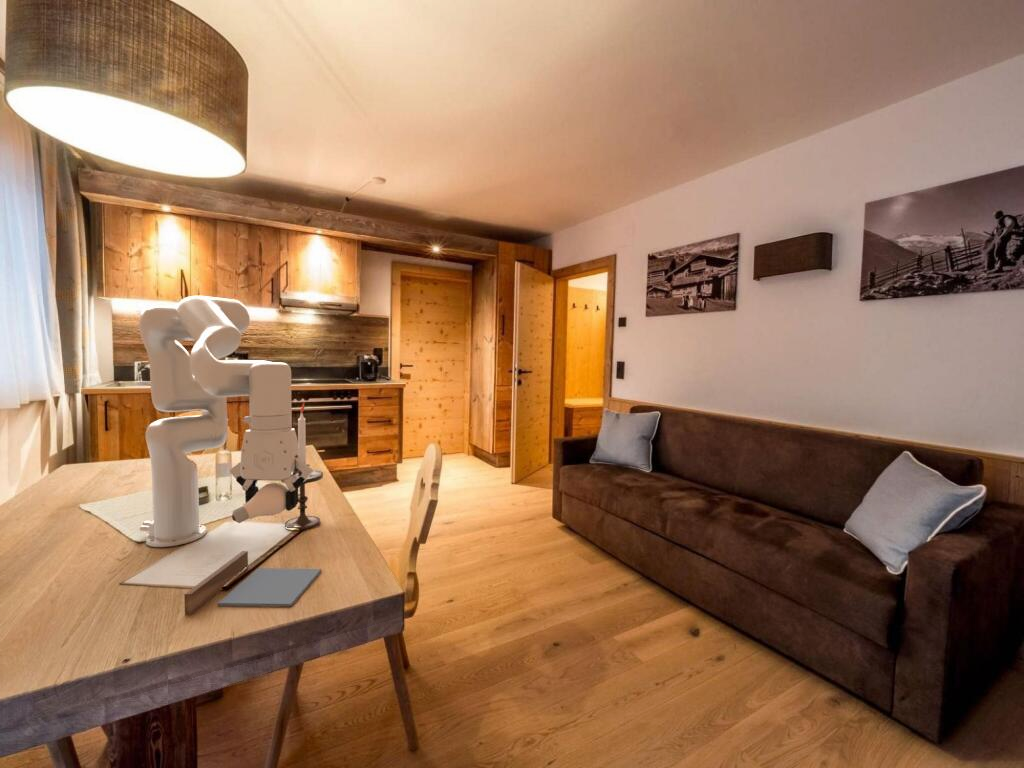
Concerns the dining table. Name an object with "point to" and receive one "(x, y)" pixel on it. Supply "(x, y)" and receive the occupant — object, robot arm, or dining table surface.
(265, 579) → the mat
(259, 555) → the dining table surface
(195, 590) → the low wall
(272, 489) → the light bulb
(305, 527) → the candlestick
